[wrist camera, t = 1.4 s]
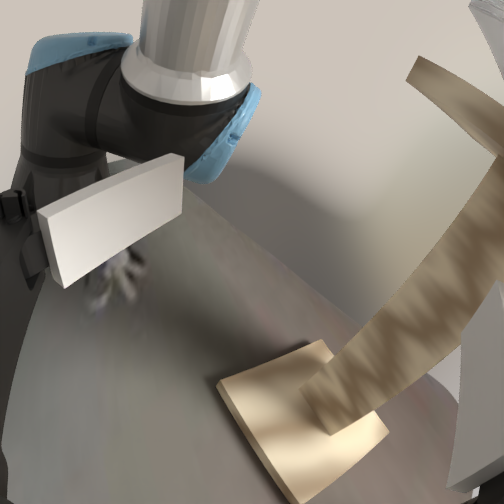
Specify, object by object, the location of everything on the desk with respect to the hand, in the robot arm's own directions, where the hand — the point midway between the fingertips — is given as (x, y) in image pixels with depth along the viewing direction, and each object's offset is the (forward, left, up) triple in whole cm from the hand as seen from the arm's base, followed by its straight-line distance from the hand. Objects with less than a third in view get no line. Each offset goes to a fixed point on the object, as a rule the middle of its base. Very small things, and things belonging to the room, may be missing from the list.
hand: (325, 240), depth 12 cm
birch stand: (+4, +11, -22) cm, 25 cm away
